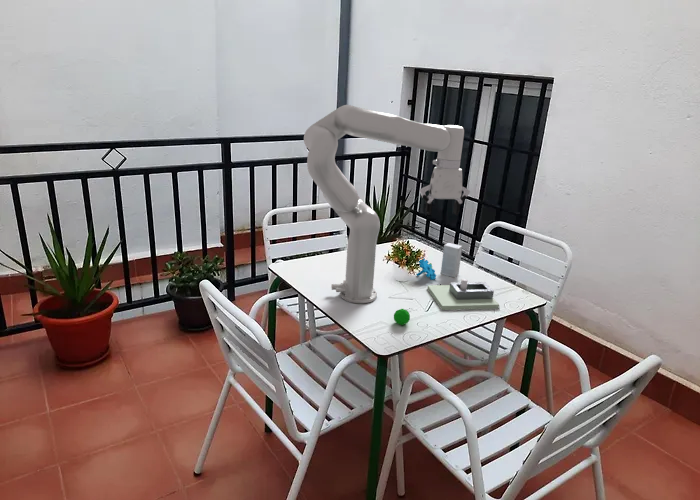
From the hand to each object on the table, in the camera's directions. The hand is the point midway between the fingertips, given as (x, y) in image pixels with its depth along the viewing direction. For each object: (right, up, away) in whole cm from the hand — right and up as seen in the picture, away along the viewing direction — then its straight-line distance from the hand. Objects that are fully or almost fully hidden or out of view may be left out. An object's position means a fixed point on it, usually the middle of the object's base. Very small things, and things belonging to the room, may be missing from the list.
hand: (442, 214), depth 168 cm
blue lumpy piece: (-2, -23, +20) cm, 31 cm away
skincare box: (+7, -22, +24) cm, 33 cm away
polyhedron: (-16, -35, -15) cm, 41 cm away
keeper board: (+8, -29, +4) cm, 30 cm away
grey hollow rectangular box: (+11, -28, +4) cm, 30 cm away
